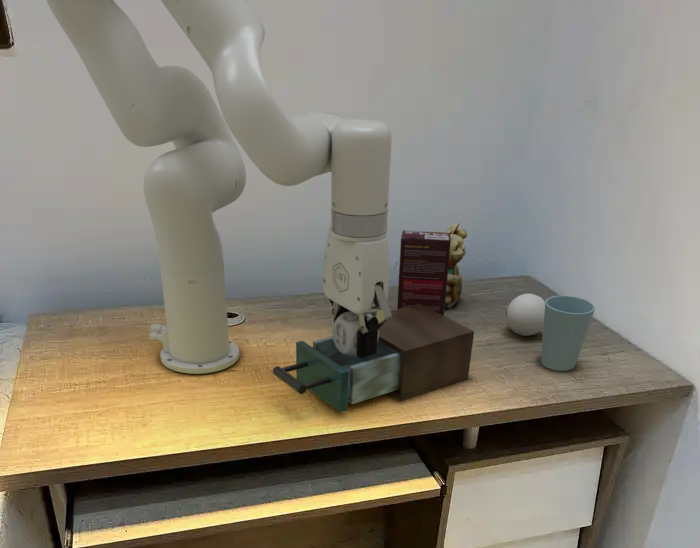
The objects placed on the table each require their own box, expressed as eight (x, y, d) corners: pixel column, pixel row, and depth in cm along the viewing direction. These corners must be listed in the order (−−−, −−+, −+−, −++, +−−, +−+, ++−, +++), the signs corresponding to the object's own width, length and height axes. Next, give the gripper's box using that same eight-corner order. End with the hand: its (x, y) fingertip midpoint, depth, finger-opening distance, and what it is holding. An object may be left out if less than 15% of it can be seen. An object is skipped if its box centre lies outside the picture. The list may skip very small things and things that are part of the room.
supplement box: (442, 317, 137) (451, 231, 128) (442, 328, 133) (452, 240, 124) (396, 314, 137) (402, 229, 128) (394, 325, 133) (400, 237, 124)
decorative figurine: (453, 313, 138) (462, 233, 130) (411, 306, 141) (417, 227, 132) (465, 296, 146) (474, 220, 138) (425, 290, 148) (432, 214, 140)
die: (378, 351, 108) (380, 319, 105) (350, 359, 105) (351, 326, 103) (359, 339, 111) (360, 308, 108) (331, 346, 109) (332, 315, 106)
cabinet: (401, 400, 110) (404, 351, 105) (350, 367, 118) (351, 320, 114) (468, 378, 116) (474, 331, 112) (415, 348, 125) (419, 303, 121)
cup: (590, 364, 122) (604, 304, 116) (566, 379, 117) (579, 317, 112) (551, 350, 126) (562, 291, 121) (525, 363, 122) (536, 303, 116)
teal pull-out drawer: (307, 423, 102) (307, 382, 98) (264, 389, 110) (263, 350, 106) (408, 390, 111) (412, 352, 107) (362, 361, 118) (363, 324, 115)
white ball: (553, 339, 130) (561, 299, 126) (518, 345, 128) (525, 305, 123) (520, 318, 138) (527, 280, 134) (487, 323, 135) (492, 285, 131)
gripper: (300, 211, 102) (302, 333, 112) (374, 244, 90) (368, 376, 101) (345, 204, 106) (342, 323, 116) (421, 235, 94) (411, 363, 104)
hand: (354, 346), depth 108 cm, fingers closed on die, 5 cm apart
